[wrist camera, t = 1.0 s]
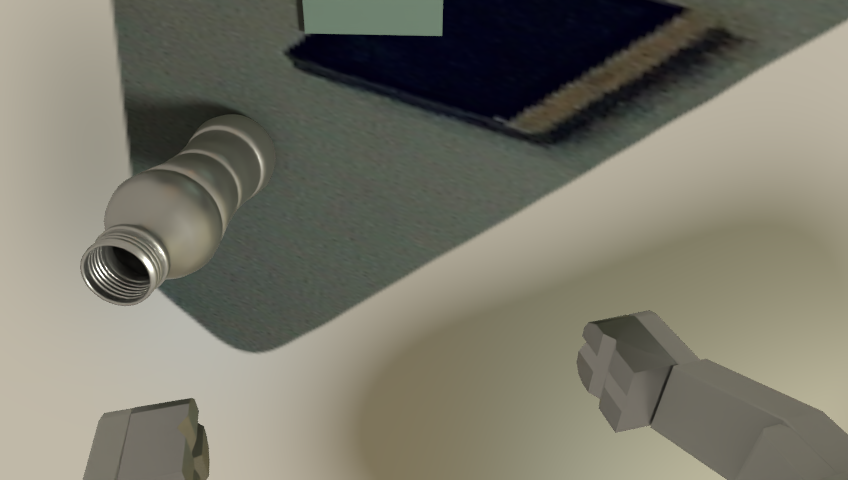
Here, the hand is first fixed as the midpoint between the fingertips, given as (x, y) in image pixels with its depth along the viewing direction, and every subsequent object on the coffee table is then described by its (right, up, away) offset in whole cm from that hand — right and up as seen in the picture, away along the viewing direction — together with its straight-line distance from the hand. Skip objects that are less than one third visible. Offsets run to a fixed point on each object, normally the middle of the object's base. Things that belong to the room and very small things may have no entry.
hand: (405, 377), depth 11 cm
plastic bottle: (-14, +11, +34) cm, 38 cm away
